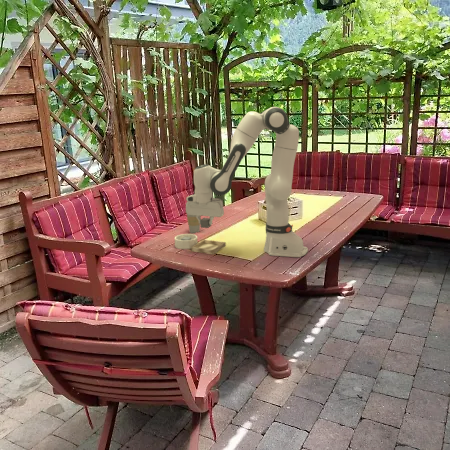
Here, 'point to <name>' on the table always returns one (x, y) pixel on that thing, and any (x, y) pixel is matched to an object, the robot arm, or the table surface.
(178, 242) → the bowl
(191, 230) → the coffee cup
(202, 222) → the charcoal cube
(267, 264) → the table surface
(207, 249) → the parts tray
